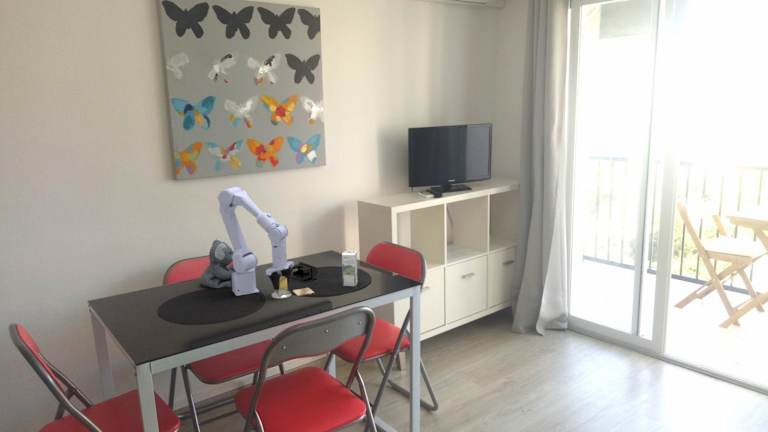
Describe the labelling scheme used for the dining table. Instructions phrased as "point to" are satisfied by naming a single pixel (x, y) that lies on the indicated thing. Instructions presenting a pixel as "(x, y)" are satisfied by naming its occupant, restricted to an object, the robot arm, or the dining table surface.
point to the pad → (303, 291)
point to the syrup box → (349, 268)
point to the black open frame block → (304, 272)
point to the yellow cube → (283, 283)
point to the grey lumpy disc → (281, 294)
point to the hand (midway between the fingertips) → (281, 287)
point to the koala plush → (219, 266)
